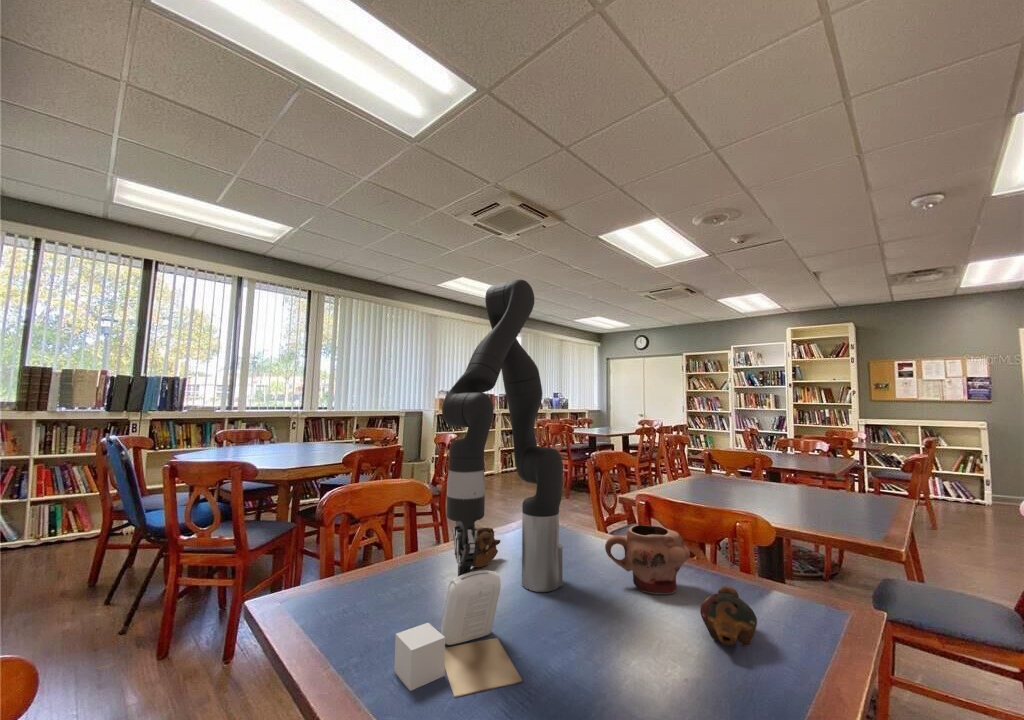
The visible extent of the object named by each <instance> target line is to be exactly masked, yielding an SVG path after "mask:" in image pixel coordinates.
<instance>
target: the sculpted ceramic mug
mask: <svg viewBox="0 0 1024 720" xmlns="http://www.w3.org/2000/svg"><path fill="white" fill-rule="evenodd" d="M614 545H620V546H622V547H623V549H624V550H623V551H624V557H623V558H622V559H617V558H616V557H615V556H614V555H613V554H612V547H614ZM604 548H605V549H604V550H605V552H606V554H607V557H609V558H610V559H611V560H612V562H614V563H615V564H617V565H618V566H619V567H621V568H622V569H623V570H625V571H626V572H631V571H632V582H633V584H634V585H635V587H636V588H637V590H639V591H641V592H643V593H648V594H654V595H670V594H673V593H675V592H676V591H677V574H678V572H679V571H680V569H681V567H682V566H683V565H684V564H685V563H686V562H687V561H688V560H689V558H690V556H691V553H690V549H689V548H688V547H687V546H685V544H684V540H683V538H682V537H681V535H680V533H678V531H675V530H672V529H669V528H666V527H664V526H656V525H645V524H644V525H643V524H635V525H632V526H630V527H629V528H628V530H627V533H626V534H625V535H617V534H616V535H613V536H611V537H609V538H608V539H607V540H606V542H605V545H604Z"/></svg>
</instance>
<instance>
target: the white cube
mask: <svg viewBox="0 0 1024 720" xmlns="http://www.w3.org/2000/svg"><path fill="white" fill-rule="evenodd" d="M445 648H446V644H445V637H444V636H443V635H442V634H441V631H438V630H437V629H436V628H435V627H434V626H433V625H432V624H431V623H430V622H426V623H423V624H419V625H417V626H415V627H414V626H413V627H412V628H408V629H406V630H402V631H399V632H396V633H395V644H394V670H393V671H394V673H395V674H396V675H397V677H398V678H399V679H400V681H401V682H402V683H403V684H404V686H405V687H406V688H407V689H408V690H409V691H410V692H411V691H413V690H417V689H418V688H421V687H422V686H424V685H427V684H429V683H431V682H433V681H436V680H438V679H441V678H443V677H445Z"/></svg>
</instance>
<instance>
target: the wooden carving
mask: <svg viewBox="0 0 1024 720" xmlns="http://www.w3.org/2000/svg"><path fill="white" fill-rule="evenodd" d="M475 528H476V529H477V538H476V542H475V543H477V542H478V543H479V550H478V553H477V557H476V560H475V564H474V565H471V568H483V566H484V567H486V566H487V565H489V564H490V563H491V562H492V561H493V560H494V559H495V557H496V556H497V554H498V553H499V550H498V549H497V546H498V545H500V543H501V539H495V531H494V529H493V528H492V527H488V526H487V527H483V526H482V527H481V526H480V527H479V526H477V527H476V526H475ZM455 559H457V557H455ZM485 565H486V566H485Z"/></svg>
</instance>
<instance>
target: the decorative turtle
mask: <svg viewBox="0 0 1024 720" xmlns="http://www.w3.org/2000/svg"><path fill="white" fill-rule="evenodd" d="M699 613H700V616H701V619H702V621H703V623H704V625H705V627H706V630H707V631H708V633H709V635H710V636H711V638H712V640H714V641H716V642H720V643H722V645H724V646H728V647H732V646H734V645H736V643H737V641H738V642H739V643H741V645H742V646H744V647H748V646H750V644H751V642H752V640H753V639H754V635H755V632H756V629H757V626H758V618H757V615H756V613H755V612H754V610H753V609H752V608H751V607H750V605H749V604H748V603H747V602H745V601H744V600H743V599H741V598H740V597H739V594H738V591H737V590H736V589H735V588H734V587H733V586H730V585H723V586H721V587H720V588H719V589H718V591H717V593H715V594H712V595H710V596H707V598H706V599H704V601H703V602H702V603H701V606H700V609H699Z"/></svg>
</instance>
